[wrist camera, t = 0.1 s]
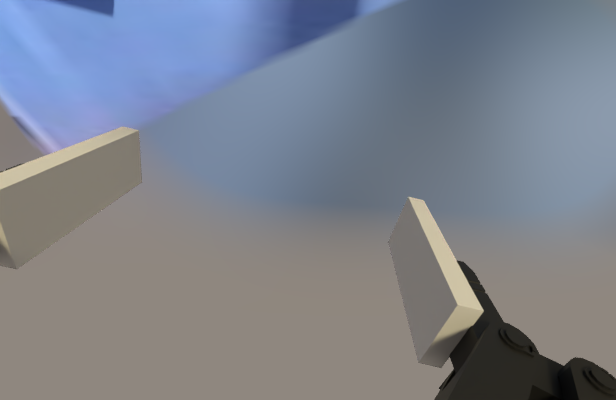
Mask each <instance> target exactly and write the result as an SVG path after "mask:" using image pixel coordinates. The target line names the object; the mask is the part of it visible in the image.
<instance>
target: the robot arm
mask: <svg viewBox="0 0 616 400" xmlns="http://www.w3.org/2000/svg"><path fill="white" fill-rule="evenodd" d="M141 182H142V177H141V159H140V142H139V130H135V129H131V128H127V127H120V128H118V129H115V130H112V131H110V132H107V133H104V134H102V135H99V136H96V137H94V138H91V139H88V140H86V141H83V142H80V143H78V144H75V145H72V146H70V147H67V148H64V149H62V150H59V151H57V152H54V153H51V154H49V155H46V156H43V157H41V158H38V159H35V160H33V161H30V162H28V163H23V164H19V165H17V166H14V167H11V168H8V169H6V170H5V171H1V172H0V266H5V267H9V268H13V269H18V268H19V267H21V266H22V265H24V264H25V263H26V262H28V261H29V260H31V259H32V258H34V257H35V256H37V255H38V254H39V253H41V252H42V251H44V250H45V249H46V248H48V247H50V246H51V245H52V244H54V243H55V242H57V241H58V240H59V239H61V238H62V237H64V236H65V235H67V234H68V233H70V232H71V231H73V230H74V229H75V228H77V227H78V226H80V225H81V224H83V223H84V222H85V221H87V220H88V219H90V218H91V217H93V216H94V215H96V214H97V213H98V212H100V211H101V210H103V209H104V208H105V207H107V206H108V205H110V204H111V203H113V202H114V201H115V200H117V199H118V198H120V197H121V196H123V195H124V194H126V193H127V192H129V191H130V190H131V189H133V188H134V187H135V186H137V185H139V184H140V183H141ZM388 243H389V247H390V251H391V255H392V259H393V262H394V267H395V271H396V275H397V279H398V283H399V287H400V291H401V295H402V299H403V303H404V307H405V311H406V314H407V319H408V323H409V326H410V330H411V335H412V339H413V343H414V347H415V351H416V355H417V359H418V363H422V364H426V365H431V366H435V367H439V368H441V367H442V366H443V365H444V364H445V362H446V361H447V360H448V358H449V357H450V358H451V361H452V364H453V367H454V370H453V371H452V372H451V374H450V375H449V376H448V377H447V378H446V380H445V381H444V382H443V383H442V385H441V386H440V387H439V389H440V391H439V393H438V395H437V396H436V398H435V400H616V379H615V378H614V377H613V376H612V375H611V374H609V373H608V372H607V371H606V370H604V369H603V368H601V367H599V366H598V365H596V364H594V363H593V362H590V361H588V360H585V359H583V358H576V357H575V358H573V359H571V360H570V361H569V362H568V363H567V364H566V365H565V366H563V365H561V364H559V363H557V362H555V361H552V360H550V359H548V358H546V357H544V356H542V355H540V354H539V352H538V350H537V349H536V347H535V345H534V343H533V342H532V341H531V340H530V339H529V338H528V337H527V336H526V335H525V334H524V333H522V332H521V331H520V330H519V329H517V328H515V327H514V326H512V325H510V324H508V323H504V322H503V320H502V318H501V317H500V315H499V313H498V312H497V310H496V308H495V307H494V305H493V303H492V301H491V300H490V298H489V296H488V295H487V294H486V293H485V290H484V288H483V286H482V285H480V281H479V280H478V278H477V276H476V275H475V273H474V272H473V271H472V270H471V269H470V268H469V267H468V266H467V265H466V264H465V263H464V262H461V261H457V260H456V259H455V257H454V255H453V253H452V252H451V250H450V248H449V246H448V244H447V242H446V241H445V239H444V237H443V235H442V233H441V231H440V230H439V228H438V226H437V224H436V222H435V220H434V219H433V217H432V215H431V213H430V211H429V210H428V208H427V206H426V204H425V202H424V200H420V199H416V198H412V197H408V198H407V201H406V203H405V205H404V207H403V209H402V212H401V214H400V216H399V218H398V221H397V223H396V225H395V228H394V230H393V232H392V234H391V236H390V239H389V241H388Z"/></svg>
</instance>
